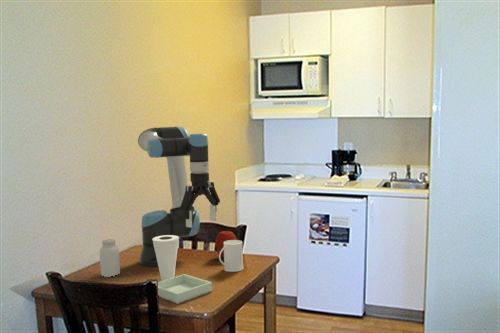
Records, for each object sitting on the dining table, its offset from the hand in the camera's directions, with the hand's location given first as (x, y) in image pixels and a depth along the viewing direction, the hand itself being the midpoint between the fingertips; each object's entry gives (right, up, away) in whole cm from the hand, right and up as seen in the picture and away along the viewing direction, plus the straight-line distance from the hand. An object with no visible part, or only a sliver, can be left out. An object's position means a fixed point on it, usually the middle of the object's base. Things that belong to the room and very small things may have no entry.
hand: (201, 223), depth 207 cm
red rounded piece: (+9, -20, +32) cm, 39 cm away
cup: (-14, -24, 0) cm, 27 cm away
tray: (-6, -25, -14) cm, 29 cm away
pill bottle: (-40, -23, +11) cm, 48 cm away
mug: (+11, -22, +13) cm, 28 cm away
